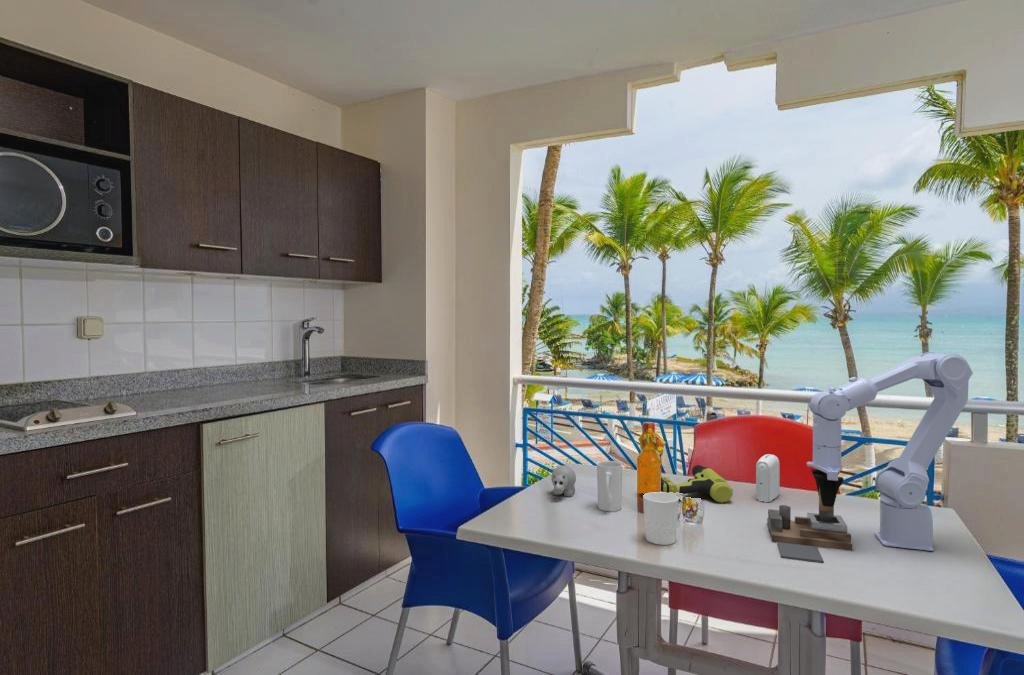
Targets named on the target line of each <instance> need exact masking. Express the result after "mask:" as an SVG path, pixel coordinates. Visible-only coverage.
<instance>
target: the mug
mask: <svg viewBox="0 0 1024 675" xmlns="http://www.w3.org/2000/svg"><path fill="white" fill-rule="evenodd" d="M596 480H597V481H596V482H597V485H596V486H597V508H598V510H601V511H604V512H618V511H620V510H621V509H622V500H623V499H622V497H623V496H622V494H623V463H621V462H619V461H614V460H603V461H598V462H597V463H596Z"/></svg>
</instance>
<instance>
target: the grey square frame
mask: <svg viewBox="0 0 1024 675" xmlns="http://www.w3.org/2000/svg"><path fill="white" fill-rule="evenodd" d="M806 514H807V515H806V517H807V526H808V528H809V529H810V530H820V531H829V532H838V533H848V524H847V523H846V522H845V520H844V519H843V517H842V516H841V515H837V514H834V520H832V521H827V520H822V519H820V518H819V513H815V512H806Z"/></svg>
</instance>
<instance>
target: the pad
mask: <svg viewBox="0 0 1024 675" xmlns="http://www.w3.org/2000/svg"><path fill="white" fill-rule="evenodd" d="M776 545H777V548H778V552H779V556H780V558H781V559H788V560H796V561H797V560H799V561H806V562H813V563H821V564H824V559H823V556H822V554H821V552H820V549H819V547H816V546H807V545H798V544H790V543H781V542H776Z"/></svg>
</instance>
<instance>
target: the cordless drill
mask: <svg viewBox="0 0 1024 675" xmlns="http://www.w3.org/2000/svg"><path fill="white" fill-rule="evenodd" d="M691 474H692V475H693V476H694V477H693V478H689V479H687V482H682V483H674V482H673V481H672V480H671V479H669V477H666V476H662V477H661V491H662V492H666V493H669V492H673V493H676V492H679V493H683V494H682V495H686V494H695V493H696V494H699V493H701V494H707V495H708V496H710V497H711V498H712V500H714V501H716V502H717V503H721V504H724V502H725V503H727V502H729V501H730V500H731V499H732V496H733V493H734V491H733V490H734V489H733V488H731V486H730V484H728V482H727V480H726V479H724V478H723V477H722V476H720V475H719V474H718V473H717V472H715V471H714V470H713V469H712V468H708V467H706V466H703V465H702V464H696V465H694V466H693V467H692V468H691Z"/></svg>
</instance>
